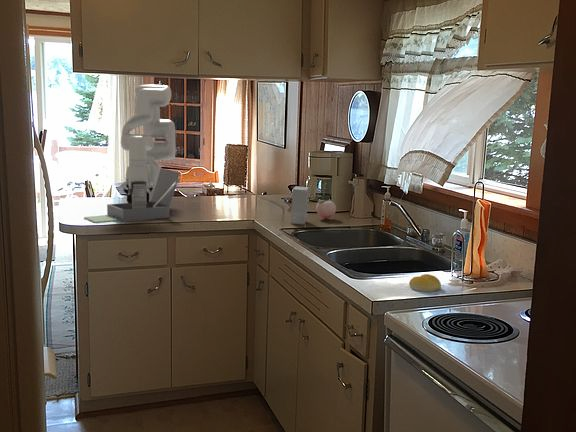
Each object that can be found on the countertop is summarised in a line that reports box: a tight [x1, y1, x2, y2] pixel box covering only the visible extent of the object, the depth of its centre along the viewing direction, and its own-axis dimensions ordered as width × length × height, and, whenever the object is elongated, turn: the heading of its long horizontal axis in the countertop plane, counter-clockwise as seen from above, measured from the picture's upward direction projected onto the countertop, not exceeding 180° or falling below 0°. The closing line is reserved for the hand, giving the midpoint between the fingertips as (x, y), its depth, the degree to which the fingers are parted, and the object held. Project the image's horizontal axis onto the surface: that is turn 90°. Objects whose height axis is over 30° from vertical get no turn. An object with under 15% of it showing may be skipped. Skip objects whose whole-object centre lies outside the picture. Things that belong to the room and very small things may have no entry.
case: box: [106, 168, 181, 223], centre depth 287 cm, size 20×27×20 cm
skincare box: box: [290, 185, 310, 225], centre depth 282 cm, size 8×7×16 cm
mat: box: [83, 214, 119, 224], centre depth 277 cm, size 13×10×1 cm
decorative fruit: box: [315, 197, 337, 220], centre depth 292 cm, size 9×8×10 cm
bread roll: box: [408, 273, 442, 293], centre depth 186 cm, size 8×9×4 cm
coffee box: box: [130, 182, 147, 209], centre depth 287 cm, size 9×6×16 cm
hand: (138, 202), depth 287 cm, fingers closed on coffee box, 7 cm apart
